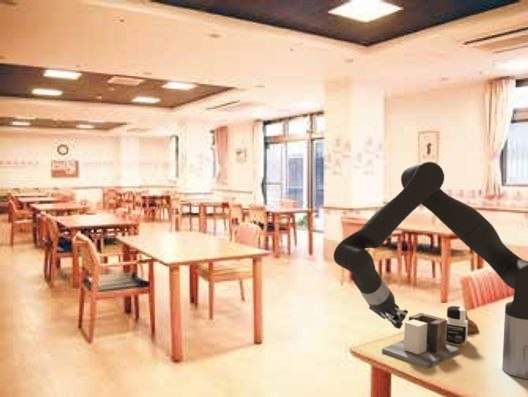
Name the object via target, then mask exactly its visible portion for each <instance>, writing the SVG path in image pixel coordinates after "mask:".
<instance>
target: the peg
mask: <svg viewBox="0 0 528 397" xmlns="http://www.w3.org/2000/svg"><path fill="white" fill-rule="evenodd" d="M403 340H404V350H406V351H409V352H412V353H415V354H417V355H418V354H420V353H422V352H425V351H426V345H427V323H425V322H421V321H418V320H414V319H413V320H410V321H409V320H407V321H405V322H404V338H403Z"/></svg>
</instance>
